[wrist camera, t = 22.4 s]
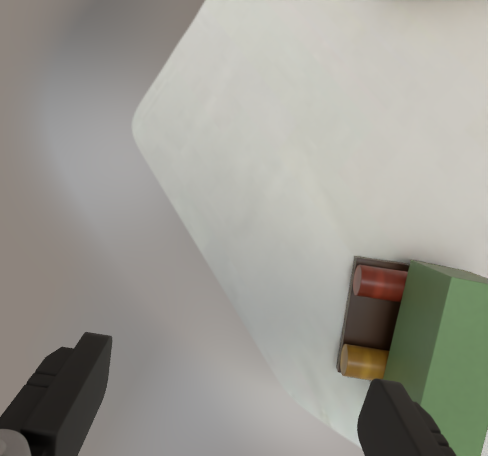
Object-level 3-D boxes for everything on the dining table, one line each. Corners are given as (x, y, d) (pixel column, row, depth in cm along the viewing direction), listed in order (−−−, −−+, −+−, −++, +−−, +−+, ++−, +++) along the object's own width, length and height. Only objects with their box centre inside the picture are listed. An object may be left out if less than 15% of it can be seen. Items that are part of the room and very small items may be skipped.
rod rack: (336, 368, 40) (343, 386, 36) (354, 255, 39) (364, 262, 35) (452, 387, 40) (473, 408, 36) (474, 273, 39) (497, 281, 35)
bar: (376, 403, 36) (406, 460, 28) (410, 259, 35) (451, 276, 27) (430, 415, 36) (475, 476, 28) (465, 270, 35) (523, 291, 27)
